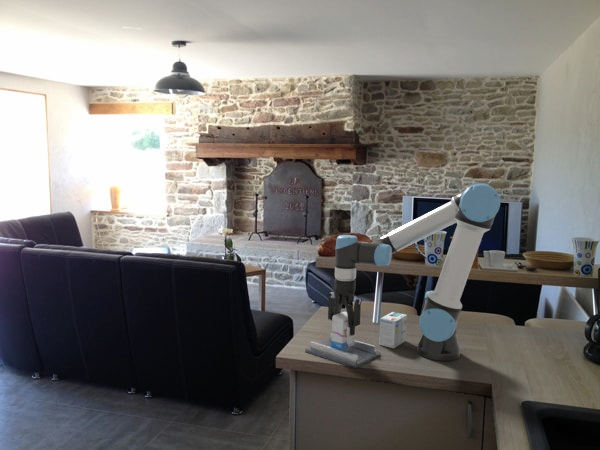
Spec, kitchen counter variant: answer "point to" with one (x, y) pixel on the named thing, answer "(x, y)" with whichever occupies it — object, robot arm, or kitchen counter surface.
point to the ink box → (340, 331)
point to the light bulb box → (392, 329)
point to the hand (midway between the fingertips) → (343, 341)
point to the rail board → (345, 352)
